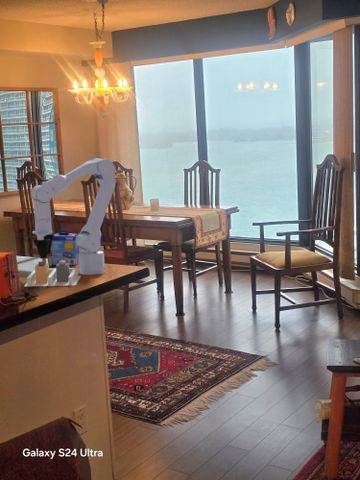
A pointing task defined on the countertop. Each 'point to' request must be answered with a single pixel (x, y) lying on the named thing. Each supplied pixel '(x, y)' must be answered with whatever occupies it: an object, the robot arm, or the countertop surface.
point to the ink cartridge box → (65, 248)
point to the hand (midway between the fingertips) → (45, 256)
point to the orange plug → (41, 272)
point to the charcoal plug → (62, 271)
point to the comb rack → (54, 278)
